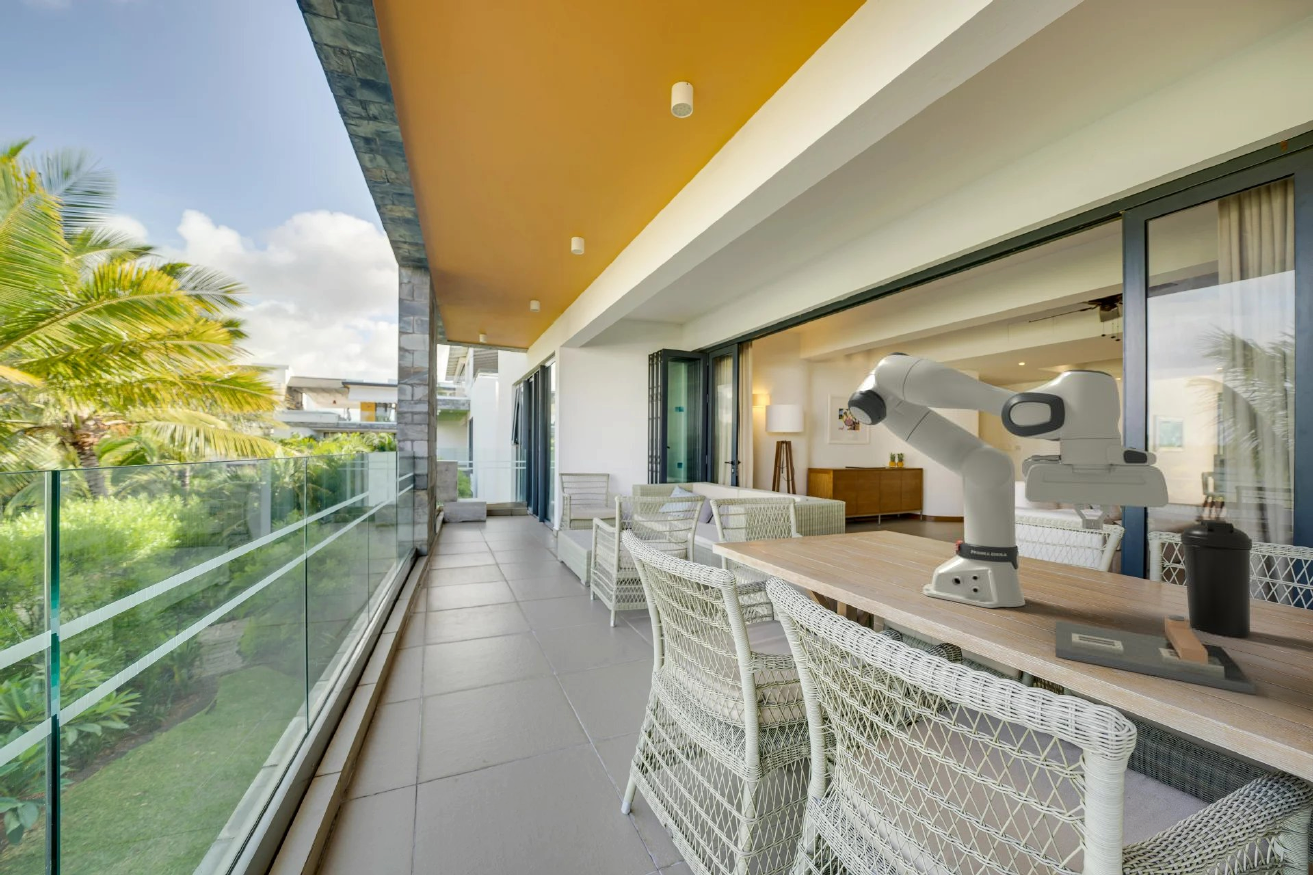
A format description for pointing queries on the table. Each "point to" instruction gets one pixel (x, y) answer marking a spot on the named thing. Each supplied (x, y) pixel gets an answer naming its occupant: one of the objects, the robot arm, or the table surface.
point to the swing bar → (1184, 640)
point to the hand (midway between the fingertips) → (1092, 528)
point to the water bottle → (1218, 578)
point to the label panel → (1147, 656)
